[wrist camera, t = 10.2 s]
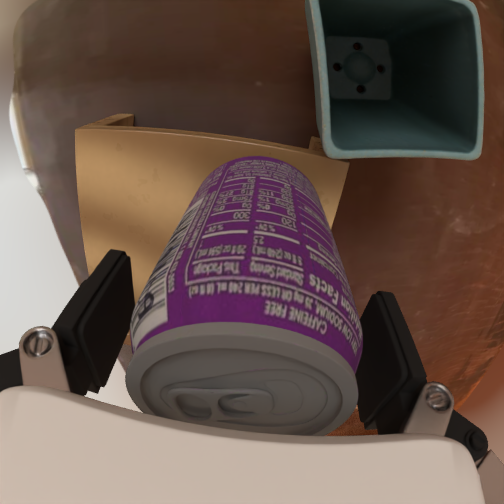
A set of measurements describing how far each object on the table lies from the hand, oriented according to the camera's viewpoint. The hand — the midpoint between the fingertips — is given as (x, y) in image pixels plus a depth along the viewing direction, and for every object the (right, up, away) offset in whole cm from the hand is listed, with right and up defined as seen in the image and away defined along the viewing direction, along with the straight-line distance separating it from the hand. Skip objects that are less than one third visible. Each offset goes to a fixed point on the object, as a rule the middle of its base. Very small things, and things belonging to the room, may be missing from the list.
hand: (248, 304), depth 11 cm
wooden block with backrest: (-3, +5, +13) cm, 15 cm away
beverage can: (+1, +4, +7) cm, 8 cm away
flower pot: (+8, +15, +7) cm, 18 cm away
